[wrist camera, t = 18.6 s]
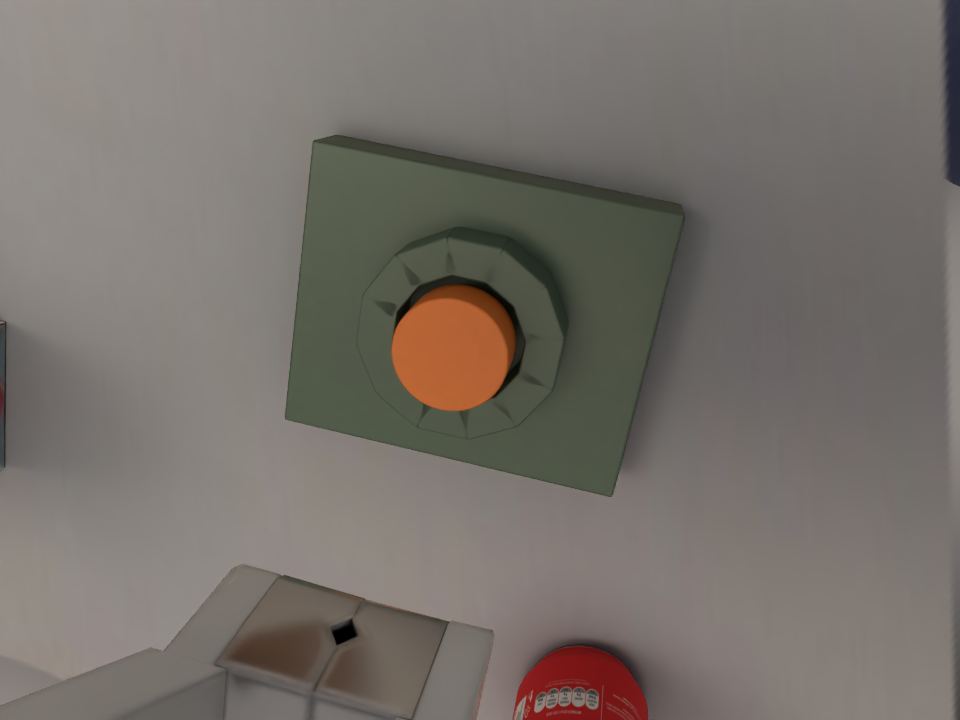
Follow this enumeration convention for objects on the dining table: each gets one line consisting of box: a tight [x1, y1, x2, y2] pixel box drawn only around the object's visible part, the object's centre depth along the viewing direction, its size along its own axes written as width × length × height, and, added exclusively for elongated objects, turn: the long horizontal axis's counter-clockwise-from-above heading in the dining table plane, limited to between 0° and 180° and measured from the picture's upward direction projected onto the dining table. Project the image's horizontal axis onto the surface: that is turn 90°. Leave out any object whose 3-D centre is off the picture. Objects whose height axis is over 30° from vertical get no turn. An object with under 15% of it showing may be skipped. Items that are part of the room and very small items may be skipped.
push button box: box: [285, 135, 685, 497], centre depth 29 cm, size 12×10×4 cm
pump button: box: [391, 284, 516, 411], centre depth 27 cm, size 4×4×2 cm
